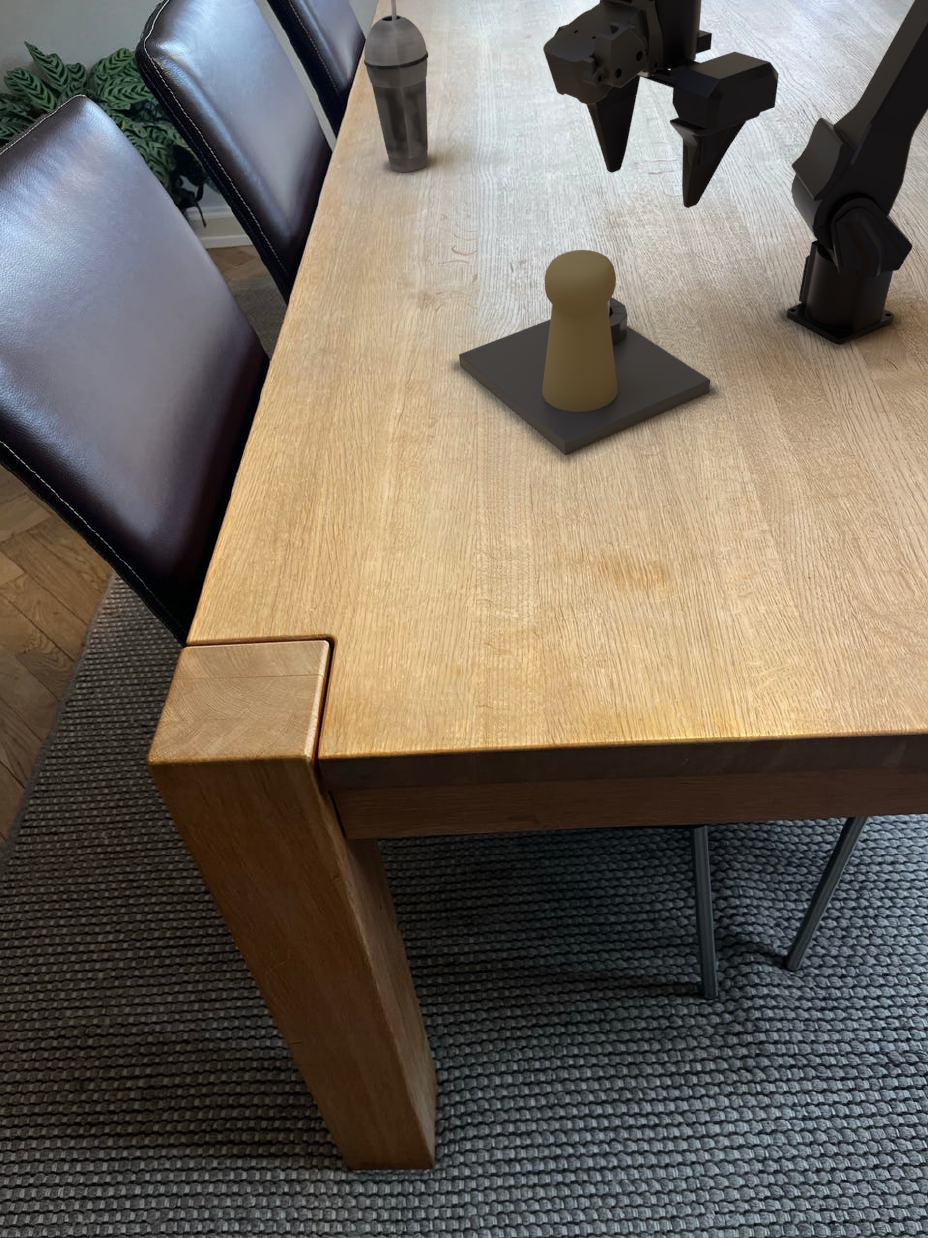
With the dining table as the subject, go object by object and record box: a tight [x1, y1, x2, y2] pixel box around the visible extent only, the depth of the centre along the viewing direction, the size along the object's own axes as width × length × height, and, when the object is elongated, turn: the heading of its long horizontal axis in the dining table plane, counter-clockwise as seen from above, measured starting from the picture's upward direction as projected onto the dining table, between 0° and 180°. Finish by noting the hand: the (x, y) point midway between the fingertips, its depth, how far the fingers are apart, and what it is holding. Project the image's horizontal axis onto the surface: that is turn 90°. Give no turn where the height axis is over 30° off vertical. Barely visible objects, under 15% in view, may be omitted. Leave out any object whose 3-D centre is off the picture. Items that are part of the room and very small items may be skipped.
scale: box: [458, 296, 711, 456], centre depth 80 cm, size 16×14×3 cm
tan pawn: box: [542, 249, 618, 412], centre depth 74 cm, size 6×6×11 cm
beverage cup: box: [363, 0, 429, 173], centre depth 109 cm, size 7×7×20 cm
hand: (650, 187), depth 75 cm, fingers open, 9 cm apart
